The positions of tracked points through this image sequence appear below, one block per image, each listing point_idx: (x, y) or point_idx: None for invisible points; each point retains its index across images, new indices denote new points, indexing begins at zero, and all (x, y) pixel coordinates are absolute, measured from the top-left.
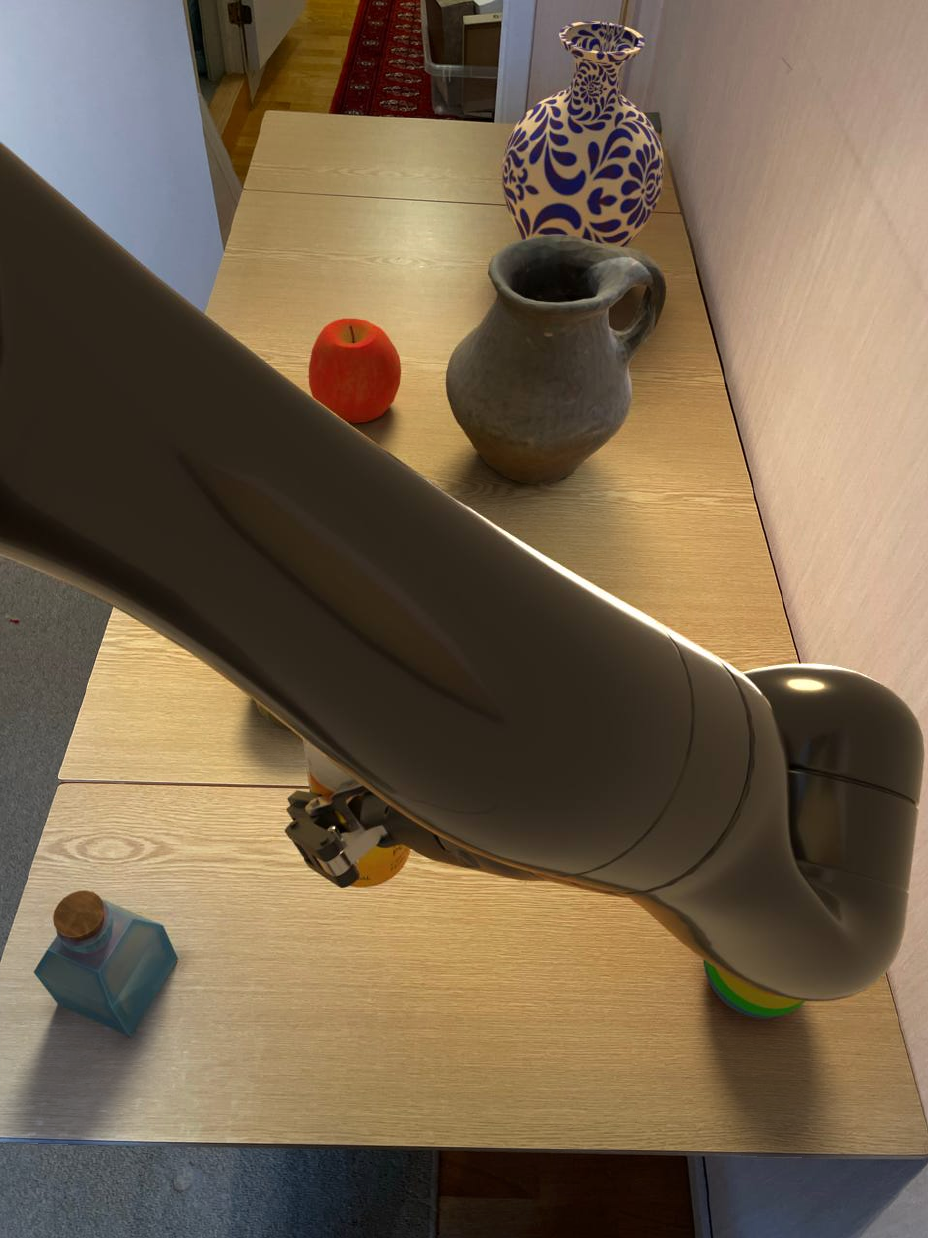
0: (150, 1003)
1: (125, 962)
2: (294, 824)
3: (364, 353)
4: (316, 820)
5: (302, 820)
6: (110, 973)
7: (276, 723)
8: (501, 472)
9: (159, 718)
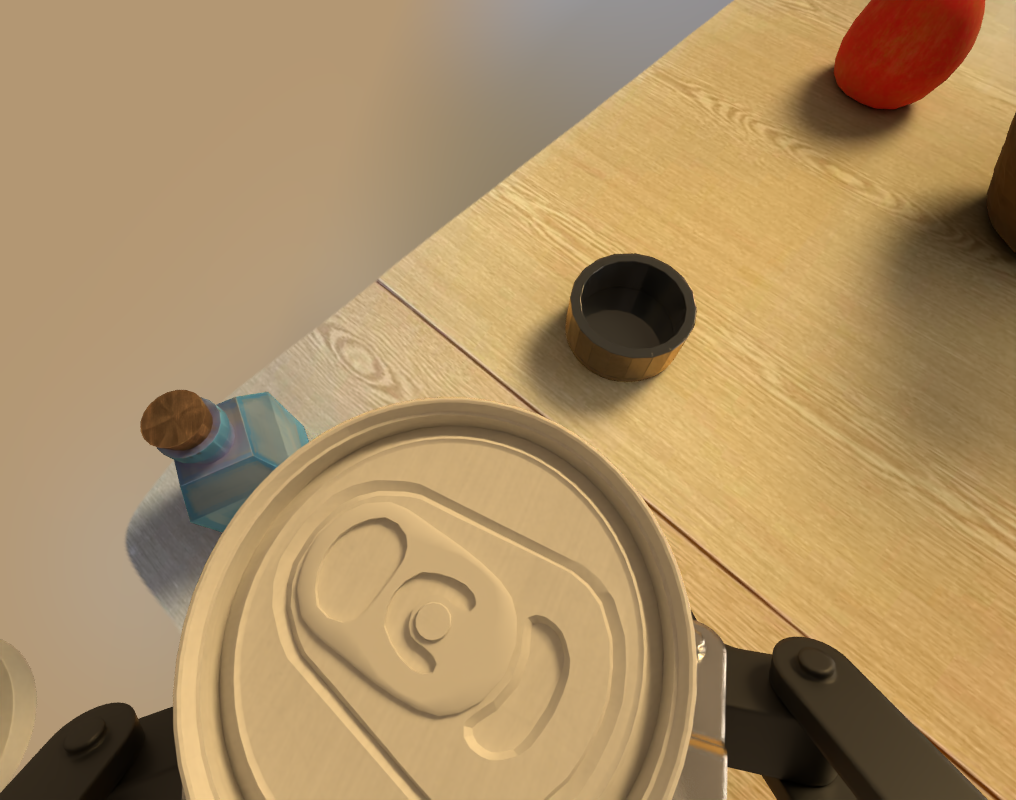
0: None
1: (225, 490)
2: (69, 750)
3: (945, 8)
4: (160, 772)
5: (101, 756)
6: (198, 493)
7: (570, 344)
8: (1003, 231)
9: (481, 273)
